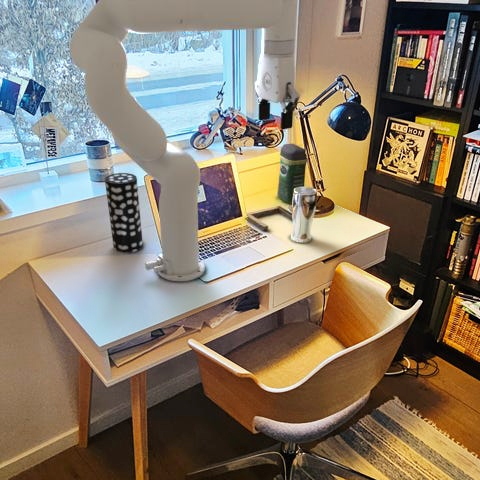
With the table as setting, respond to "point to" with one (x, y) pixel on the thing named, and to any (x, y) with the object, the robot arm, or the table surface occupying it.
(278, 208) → the walnut bay
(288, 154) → the coffee jar
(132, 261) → the table surface
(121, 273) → the table surface
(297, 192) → the beer glass
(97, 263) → the table surface
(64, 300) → the table surface
